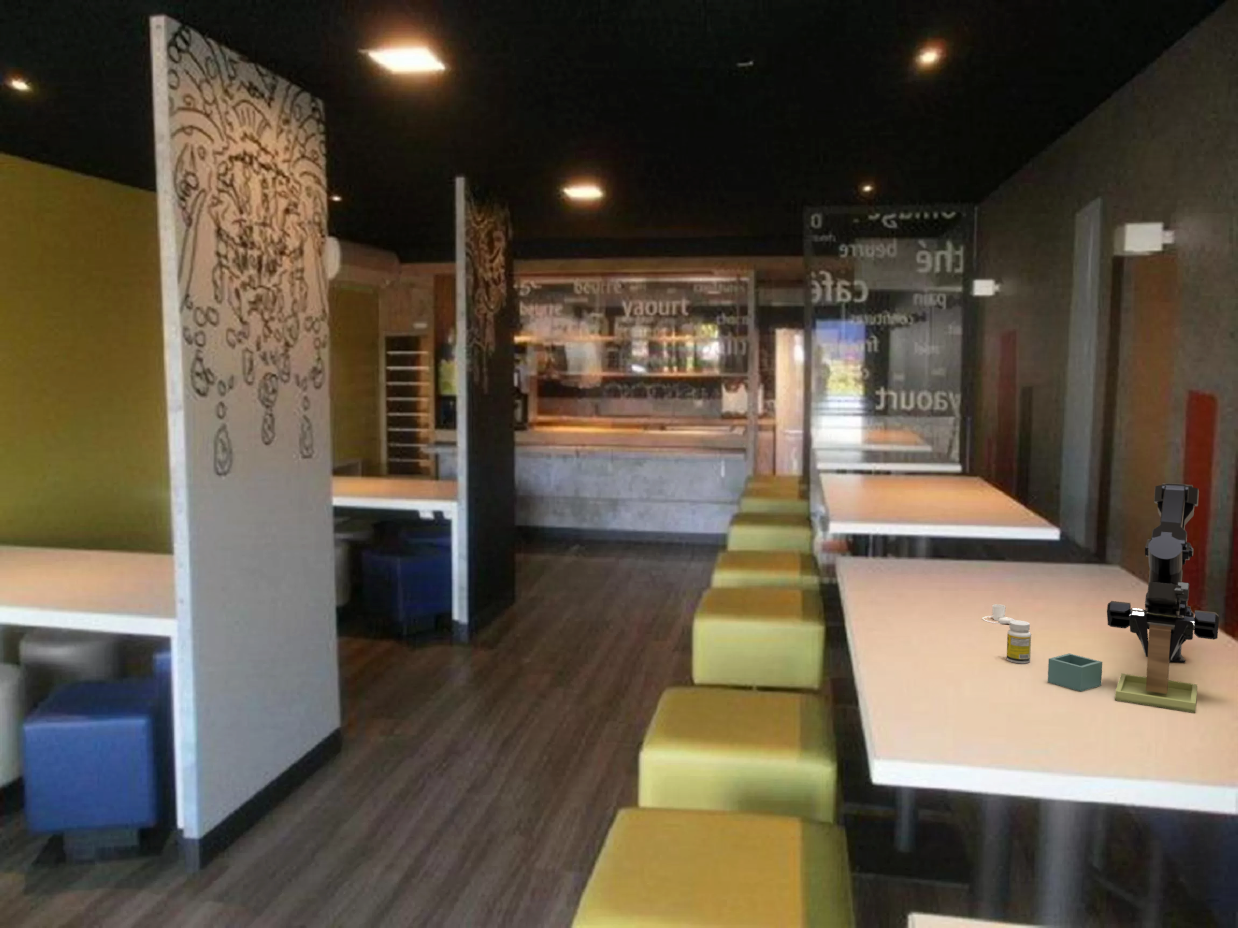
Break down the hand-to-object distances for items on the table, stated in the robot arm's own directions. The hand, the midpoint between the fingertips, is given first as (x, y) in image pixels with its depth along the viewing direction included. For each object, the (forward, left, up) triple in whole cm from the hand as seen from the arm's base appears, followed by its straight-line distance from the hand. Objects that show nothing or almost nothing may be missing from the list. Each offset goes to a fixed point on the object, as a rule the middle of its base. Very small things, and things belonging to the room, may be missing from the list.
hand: (1158, 657), depth 183 cm
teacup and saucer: (-51, -29, -9) cm, 59 cm away
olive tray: (-1, 0, -8) cm, 8 cm away
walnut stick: (-1, 0, -7) cm, 7 cm away
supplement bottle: (-17, -24, -8) cm, 31 cm away
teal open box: (-4, -14, -8) cm, 16 cm away
